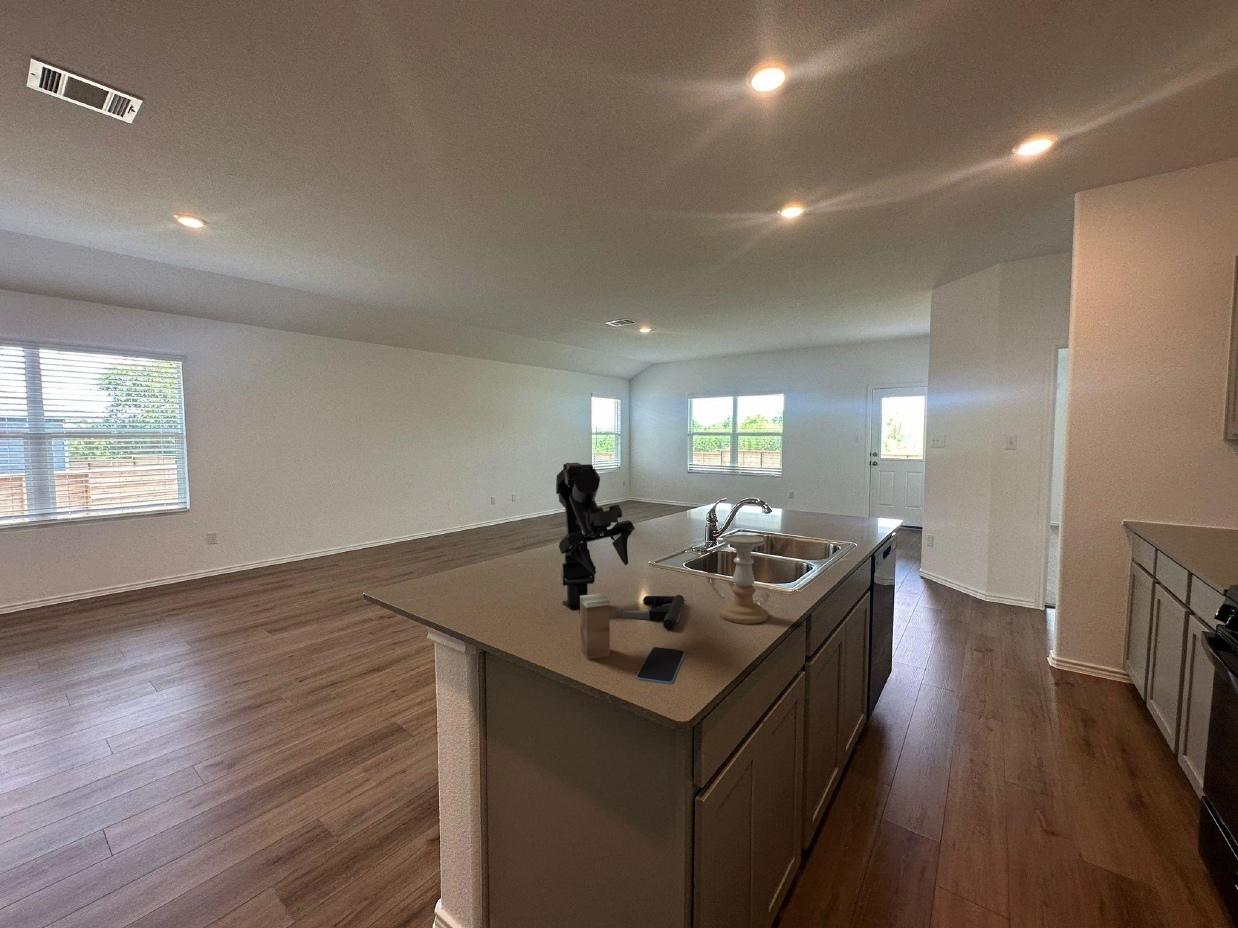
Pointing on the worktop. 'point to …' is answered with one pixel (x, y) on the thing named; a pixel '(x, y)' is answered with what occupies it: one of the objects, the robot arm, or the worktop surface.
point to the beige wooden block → (595, 626)
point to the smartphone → (661, 665)
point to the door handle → (659, 610)
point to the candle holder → (743, 583)
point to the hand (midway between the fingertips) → (611, 569)
